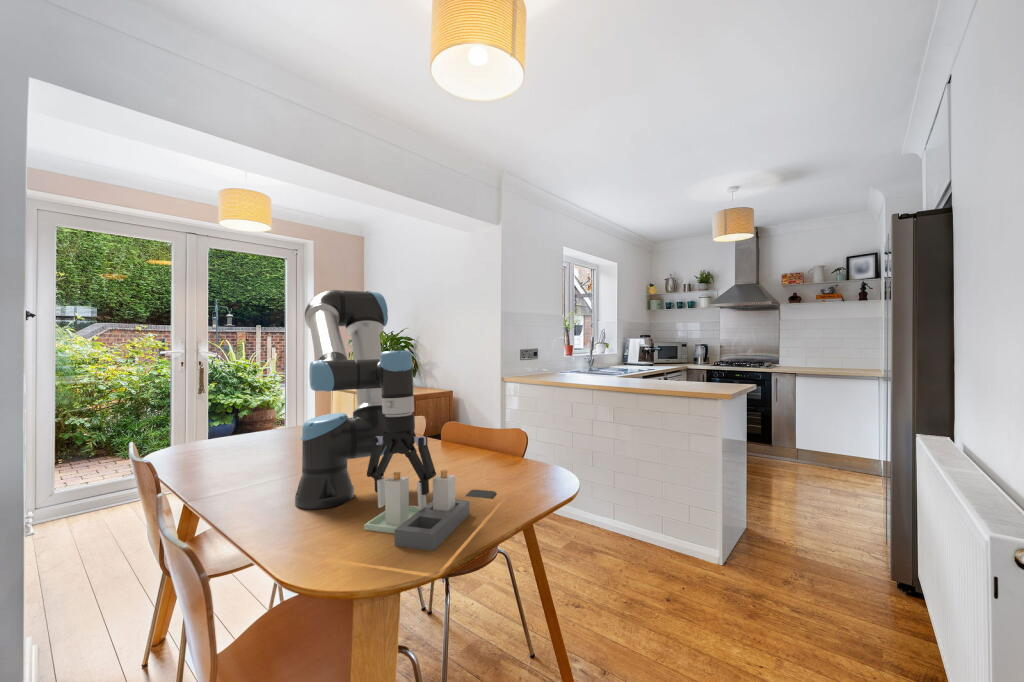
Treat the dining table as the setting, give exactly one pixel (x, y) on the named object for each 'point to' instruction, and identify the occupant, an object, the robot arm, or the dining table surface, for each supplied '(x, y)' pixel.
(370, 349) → the robot arm
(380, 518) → the tray
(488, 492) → the smartphone
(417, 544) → the gray block holder
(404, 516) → the plug
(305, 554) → the dining table surface
